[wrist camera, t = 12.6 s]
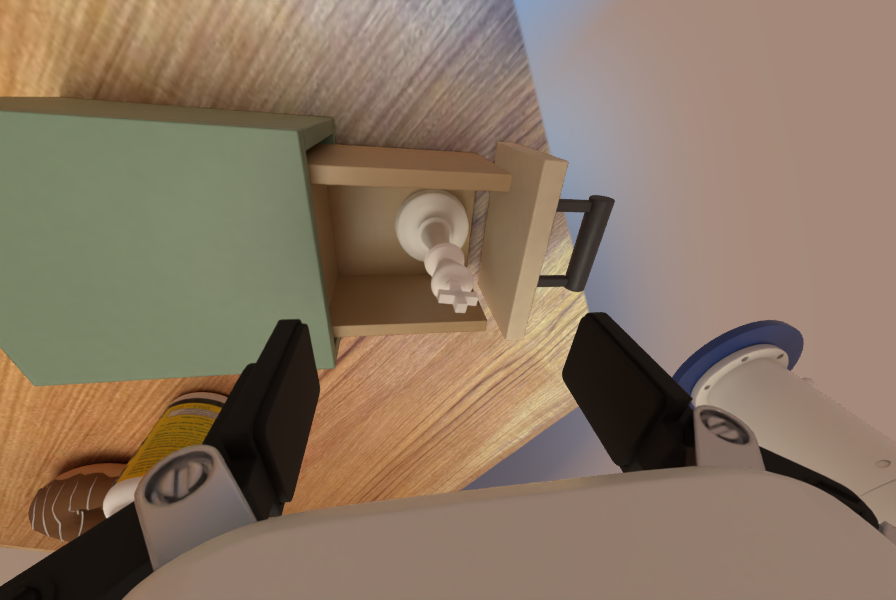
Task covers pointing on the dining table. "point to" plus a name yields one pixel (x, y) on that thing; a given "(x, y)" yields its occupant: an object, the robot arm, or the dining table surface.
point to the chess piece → (438, 243)
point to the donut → (73, 501)
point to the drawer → (503, 254)
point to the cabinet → (155, 238)
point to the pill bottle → (165, 442)
